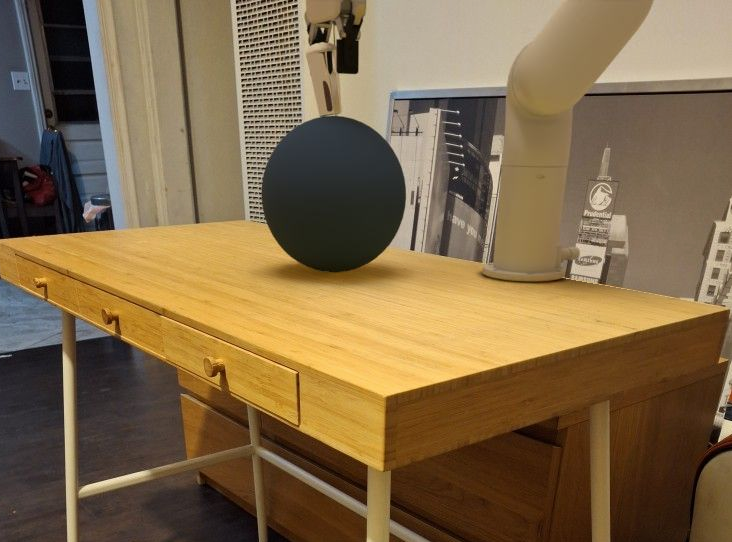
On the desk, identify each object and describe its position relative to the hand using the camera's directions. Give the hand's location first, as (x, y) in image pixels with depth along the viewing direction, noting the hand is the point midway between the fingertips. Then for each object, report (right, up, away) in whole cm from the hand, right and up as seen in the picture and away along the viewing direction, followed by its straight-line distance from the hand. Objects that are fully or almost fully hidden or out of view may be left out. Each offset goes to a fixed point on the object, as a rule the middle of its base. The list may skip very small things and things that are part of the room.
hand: (333, 74), depth 108 cm
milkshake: (0, -5, +2) cm, 5 cm away
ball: (0, -24, +12) cm, 27 cm away
